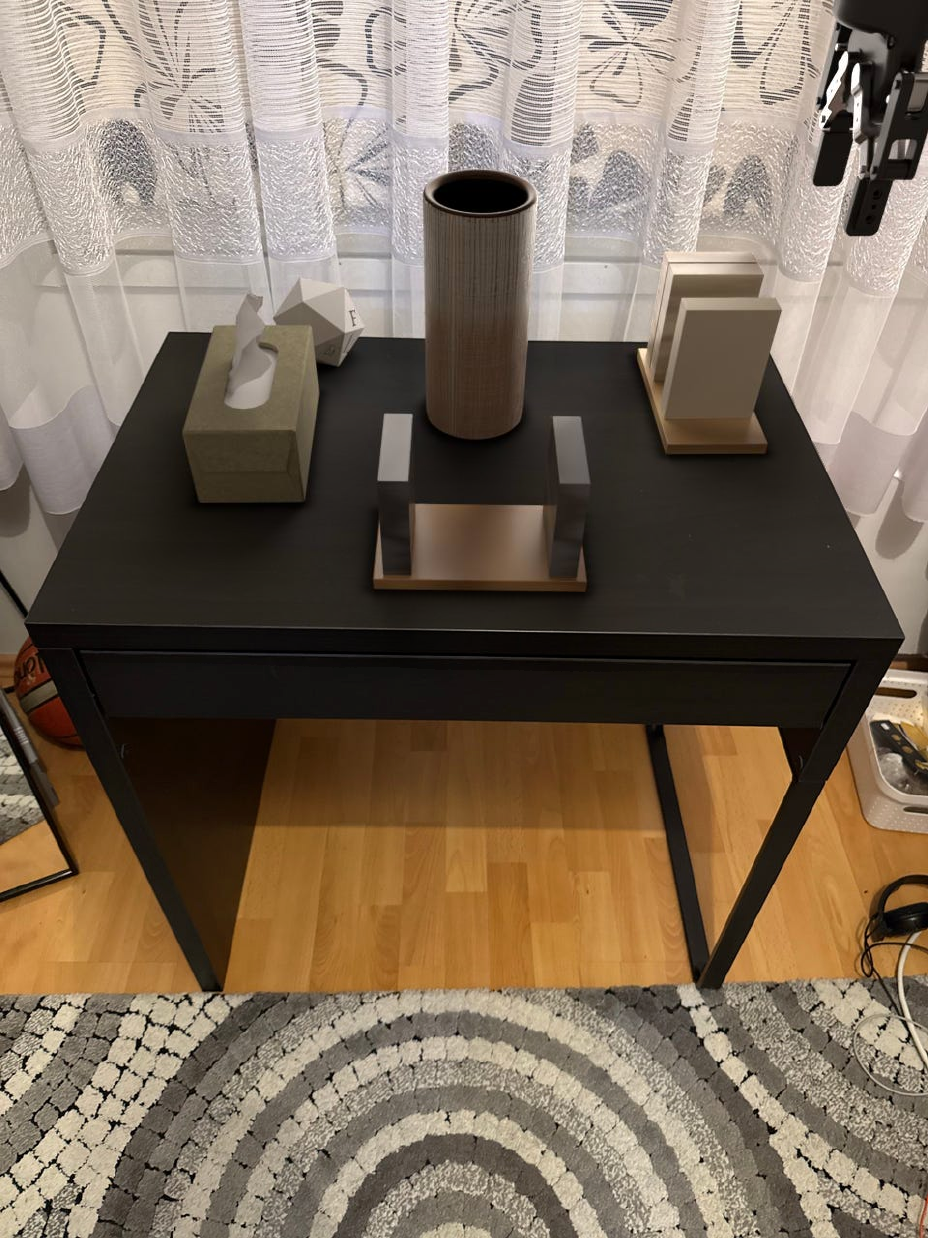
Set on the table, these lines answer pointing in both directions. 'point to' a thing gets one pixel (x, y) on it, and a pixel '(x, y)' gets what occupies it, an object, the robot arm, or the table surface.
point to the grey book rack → (482, 524)
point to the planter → (477, 299)
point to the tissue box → (253, 411)
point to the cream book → (719, 357)
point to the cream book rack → (676, 281)
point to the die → (323, 317)
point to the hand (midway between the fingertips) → (841, 208)
